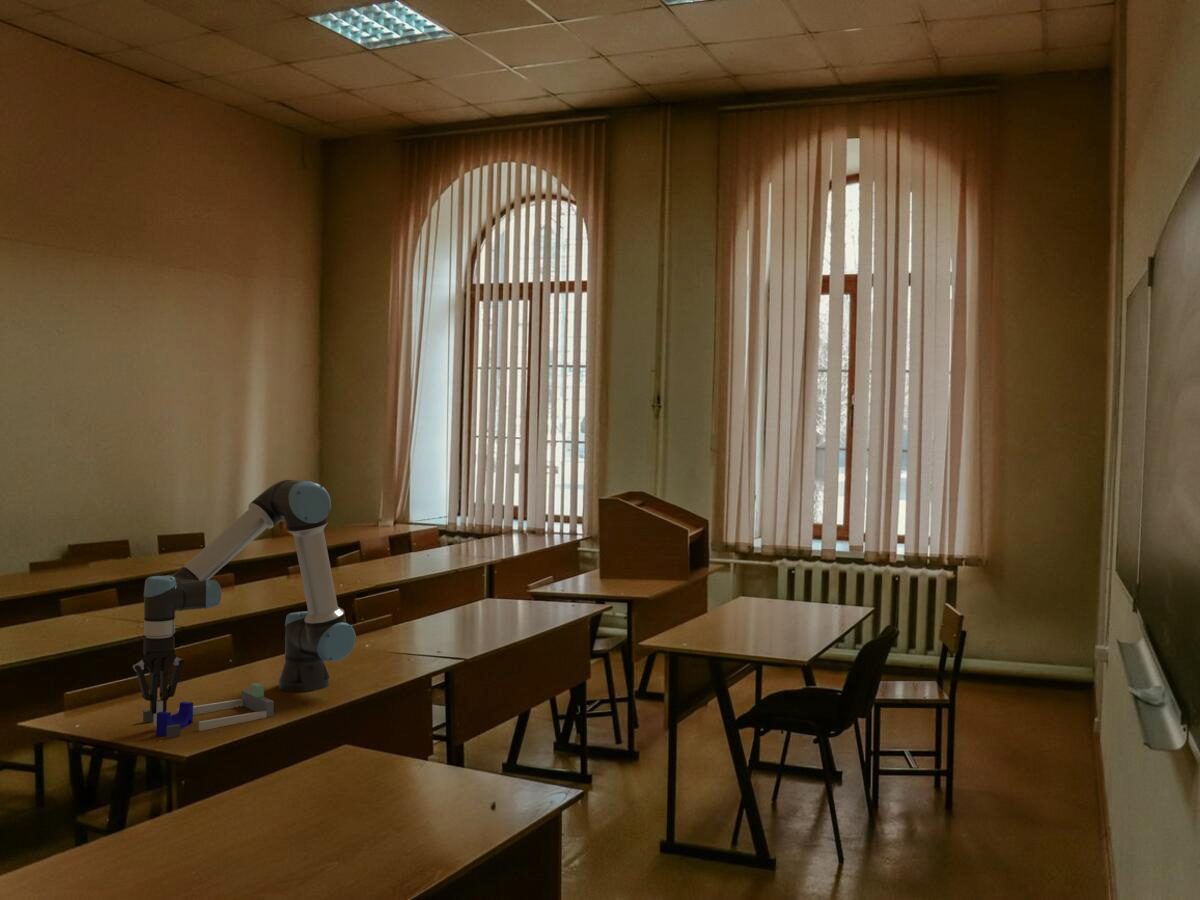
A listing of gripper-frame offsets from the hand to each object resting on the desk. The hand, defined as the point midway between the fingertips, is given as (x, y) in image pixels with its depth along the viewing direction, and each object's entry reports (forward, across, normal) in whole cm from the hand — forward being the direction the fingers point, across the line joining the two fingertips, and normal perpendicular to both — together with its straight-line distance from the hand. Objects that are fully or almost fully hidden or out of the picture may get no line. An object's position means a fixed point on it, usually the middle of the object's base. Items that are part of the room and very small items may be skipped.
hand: (158, 725), depth 269 cm
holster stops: (+1, -1, 0) cm, 1 cm away
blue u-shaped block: (+2, -3, +2) cm, 4 cm away
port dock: (+1, -17, 0) cm, 17 cm away
